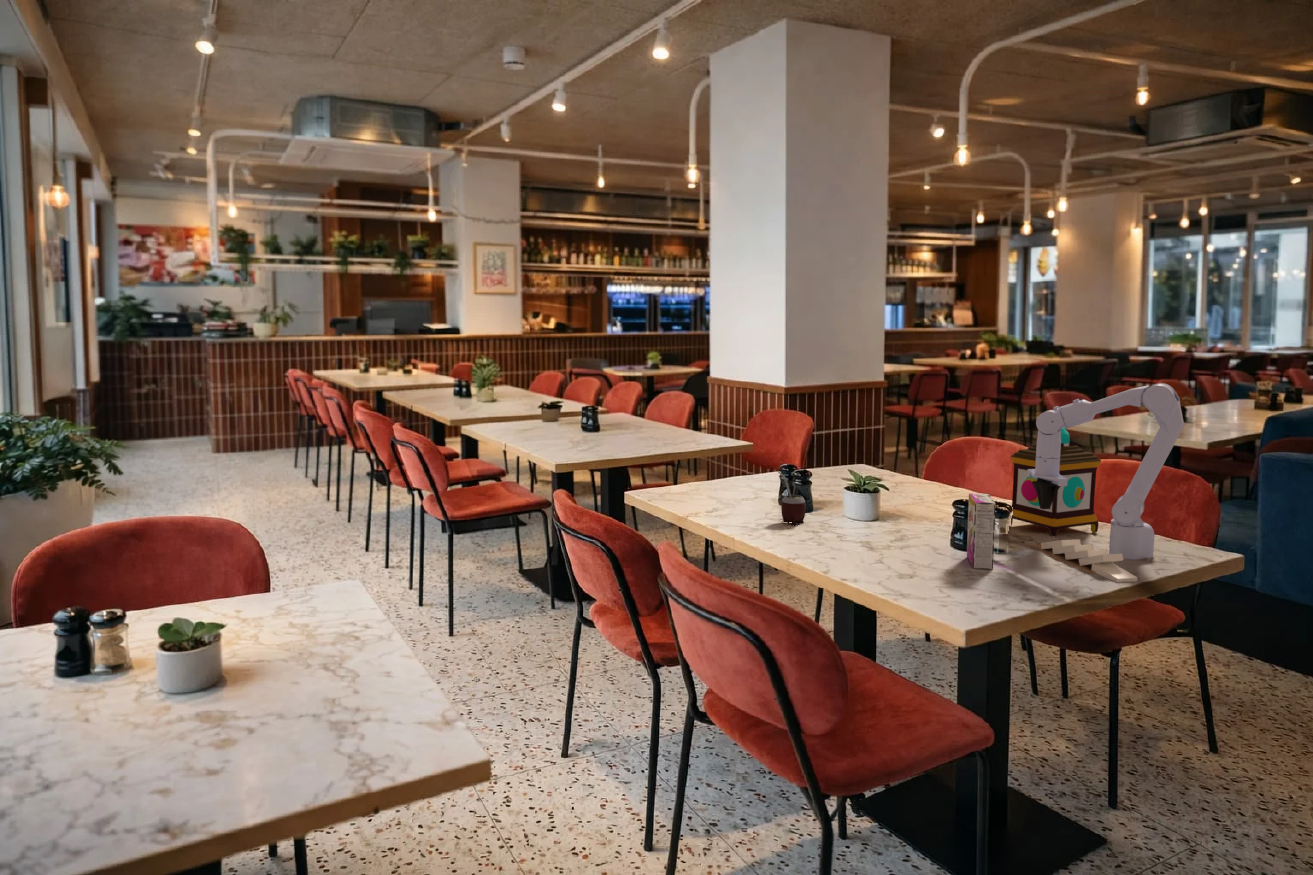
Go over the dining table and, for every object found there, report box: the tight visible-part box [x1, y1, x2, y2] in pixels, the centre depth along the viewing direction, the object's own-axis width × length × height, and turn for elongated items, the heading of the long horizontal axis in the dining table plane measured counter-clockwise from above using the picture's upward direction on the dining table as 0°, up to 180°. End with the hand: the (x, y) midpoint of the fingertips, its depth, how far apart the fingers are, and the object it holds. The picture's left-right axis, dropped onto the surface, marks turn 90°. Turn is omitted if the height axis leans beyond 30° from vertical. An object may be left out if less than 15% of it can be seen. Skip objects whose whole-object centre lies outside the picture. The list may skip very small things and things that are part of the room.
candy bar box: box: [966, 492, 997, 570], centre depth 216 cm, size 11×5×16 cm, turn 168°
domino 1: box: [1040, 538, 1082, 549], centre depth 223 cm, size 2×5×9 cm
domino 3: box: [1065, 549, 1108, 560], centre depth 213 cm, size 2×5×9 cm
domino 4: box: [1079, 553, 1124, 566], centre depth 208 cm, size 2×5×9 cm
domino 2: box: [1052, 543, 1095, 554], centre depth 218 cm, size 2×5×9 cm
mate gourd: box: [777, 470, 807, 526], centre depth 259 cm, size 8×8×15 cm
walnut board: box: [1025, 544, 1097, 575], centre depth 218 cm, size 9×26×1 cm, turn 9°
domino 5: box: [1091, 562, 1138, 583], centre depth 203 cm, size 2×5×9 cm
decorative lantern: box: [1010, 428, 1102, 538], centre depth 249 cm, size 20×20×30 cm
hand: (1045, 508), depth 230 cm, fingers closed
